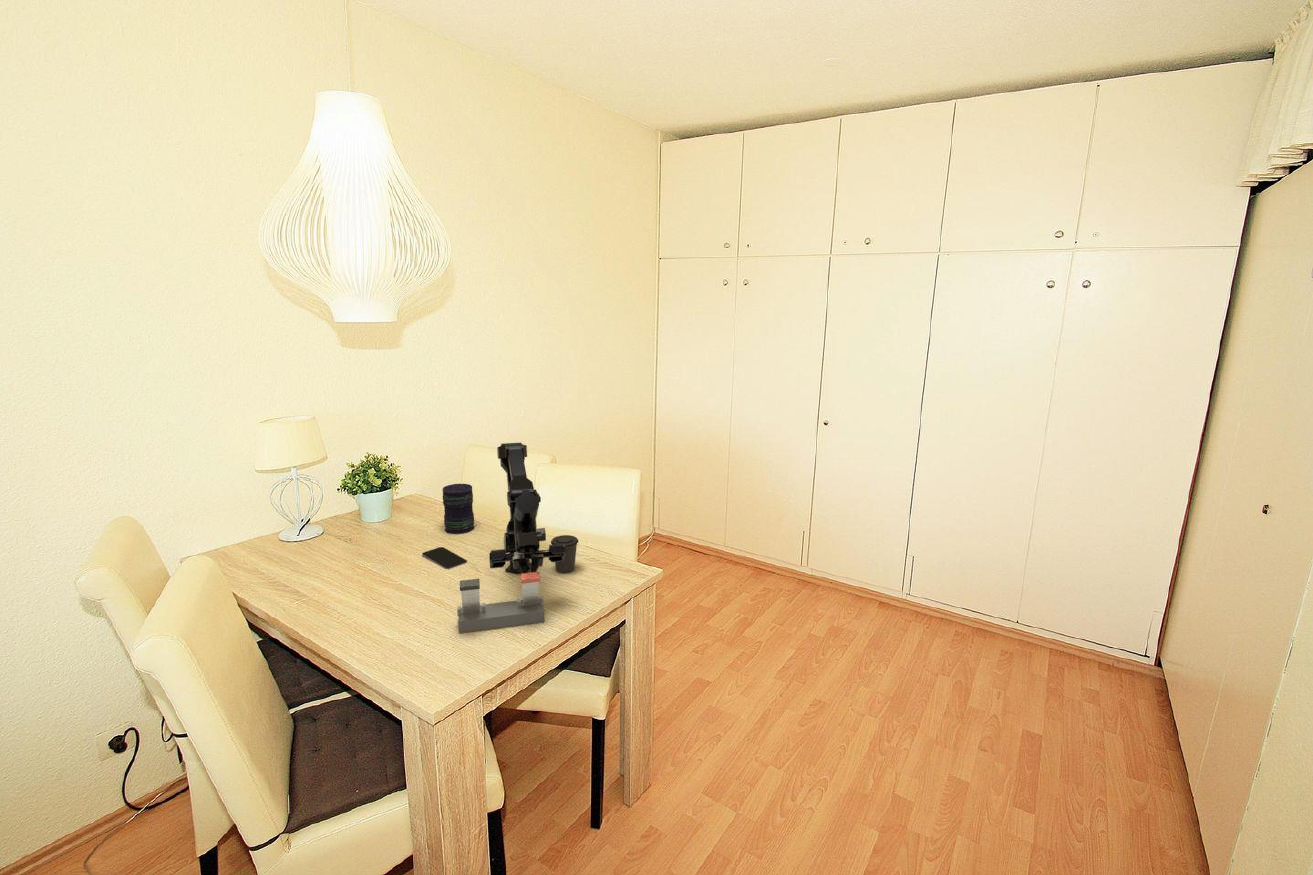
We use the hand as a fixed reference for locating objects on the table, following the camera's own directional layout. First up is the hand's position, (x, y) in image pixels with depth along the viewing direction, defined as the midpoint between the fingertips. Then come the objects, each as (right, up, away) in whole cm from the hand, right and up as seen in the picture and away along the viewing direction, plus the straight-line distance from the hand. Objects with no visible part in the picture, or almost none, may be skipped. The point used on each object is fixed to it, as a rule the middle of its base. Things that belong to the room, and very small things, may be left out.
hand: (530, 588), depth 143 cm
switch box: (-7, -8, 0) cm, 10 cm away
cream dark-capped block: (-14, -5, -3) cm, 15 cm away
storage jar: (-37, +5, +58) cm, 69 cm away
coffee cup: (+4, -2, +29) cm, 29 cm away
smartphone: (-34, 0, +34) cm, 48 cm away
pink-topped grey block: (0, -4, +1) cm, 4 cm away
